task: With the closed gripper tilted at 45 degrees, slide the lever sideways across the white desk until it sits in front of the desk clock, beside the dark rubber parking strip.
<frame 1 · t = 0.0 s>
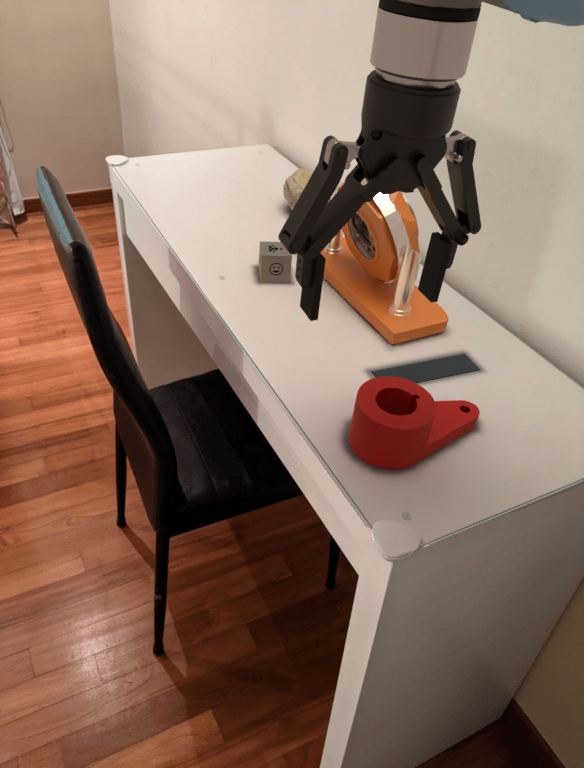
hand: (370, 304, 62), 20 cm above the table, tool pointing down, fingers open, 13 cm apart
dice cube: (273, 276, 106), on the table
desk clock: (368, 292, 104), on the table
lever: (414, 434, 78), on the table
parking strip: (426, 370, 88), on the table
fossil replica: (304, 210, 128), on the table
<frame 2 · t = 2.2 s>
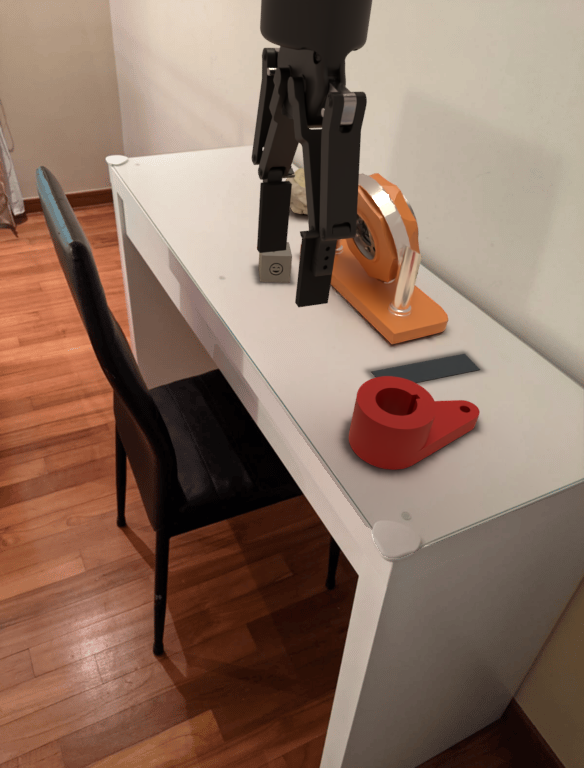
hand: (290, 274, 55), 25 cm above the table, tool pointing down, fingers open, 9 cm apart
nothing on the table moved.
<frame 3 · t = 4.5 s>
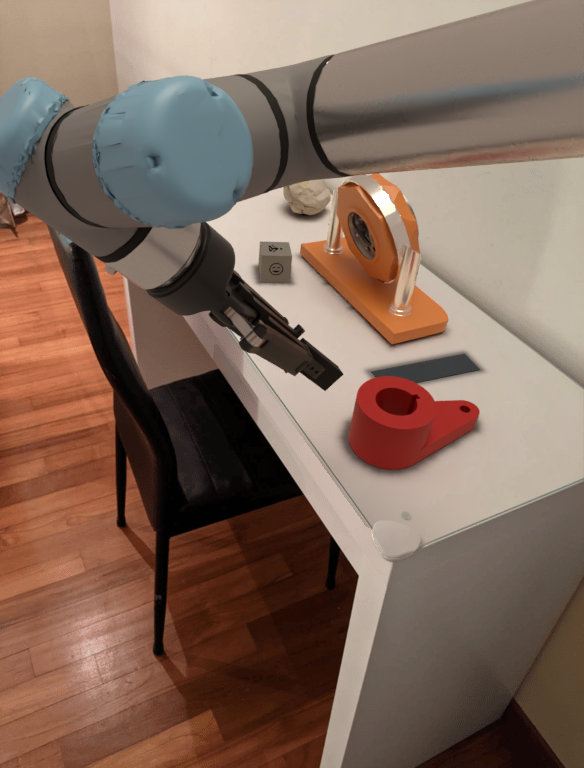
hand: (331, 378, 65), 12 cm above the table, tool tilted 45°, fingers closed
nothing on the table moved.
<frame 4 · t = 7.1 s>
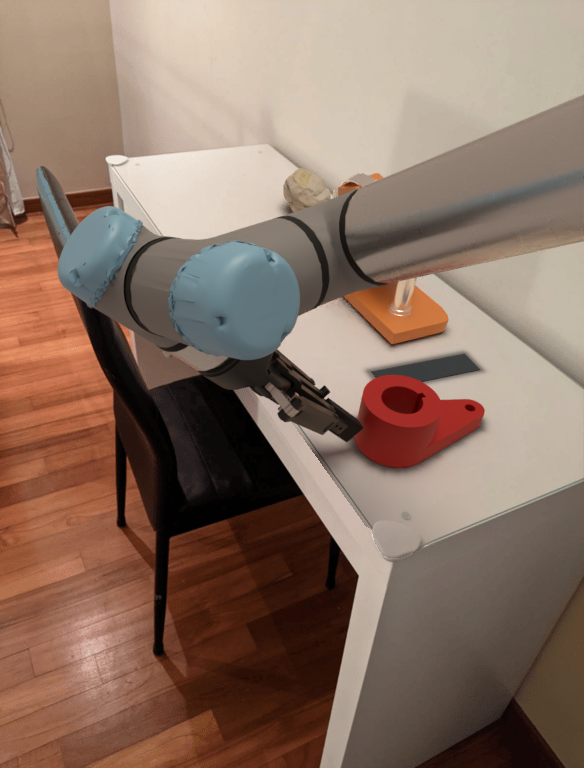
hand: (352, 430, 73), 3 cm above the table, tool tilted 45°, fingers closed
lever: (420, 433, 78), on the table, touching gripper
everything else where it was.
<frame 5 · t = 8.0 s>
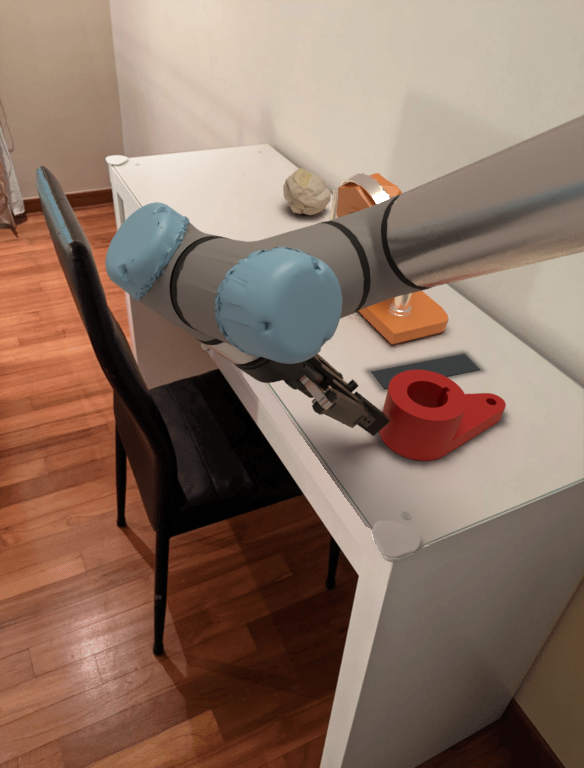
hand: (378, 424, 74), 3 cm above the table, tool tilted 45°, fingers closed
lever: (442, 427, 79), on the table, touching gripper
everything else where it was.
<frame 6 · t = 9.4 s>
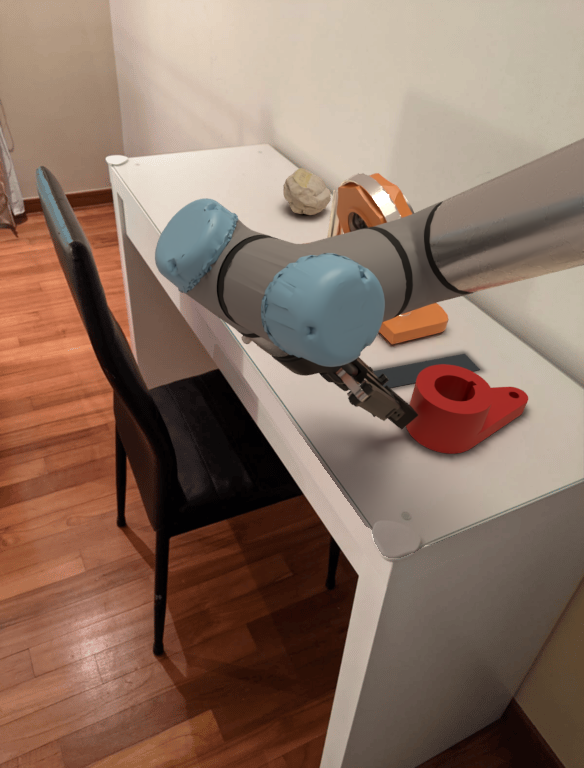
hand: (406, 418, 75), 3 cm above the table, tool tilted 45°, fingers closed
lever: (467, 420, 81), on the table, touching gripper
everything else where it was.
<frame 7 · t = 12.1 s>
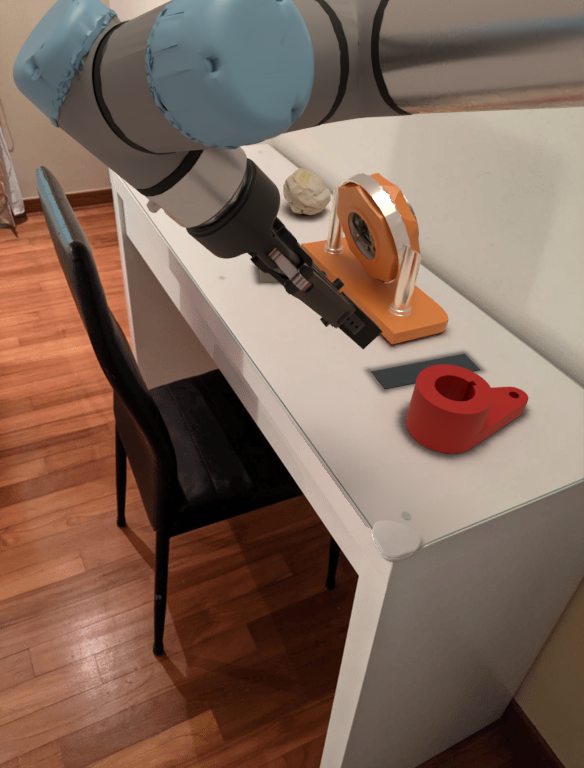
hand: (369, 336, 63), 17 cm above the table, tool tilted 45°, fingers closed
lever: (467, 420, 81), on the table
everything else where it was.
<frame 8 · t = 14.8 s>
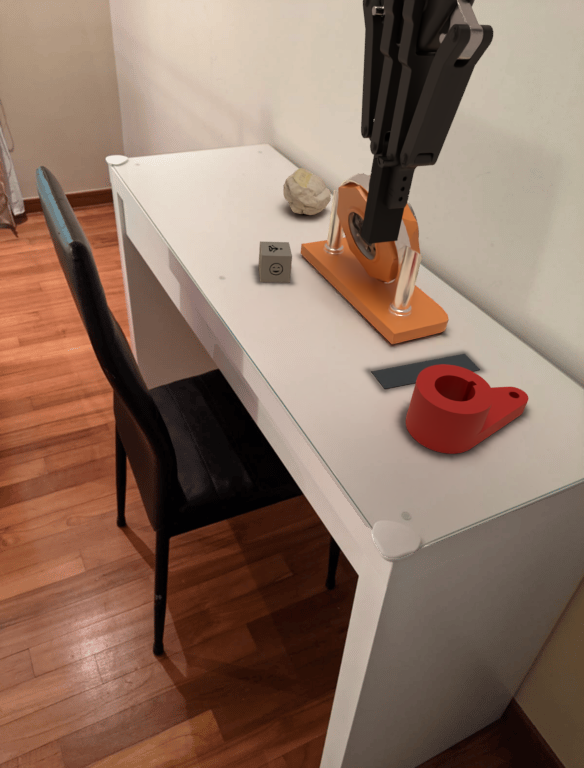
hand: (379, 238, 51), 30 cm above the table, tool pointing down, fingers closed
nothing on the table moved.
at the end: lever moved 8.4 cm from its start; lever tilted 0° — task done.
